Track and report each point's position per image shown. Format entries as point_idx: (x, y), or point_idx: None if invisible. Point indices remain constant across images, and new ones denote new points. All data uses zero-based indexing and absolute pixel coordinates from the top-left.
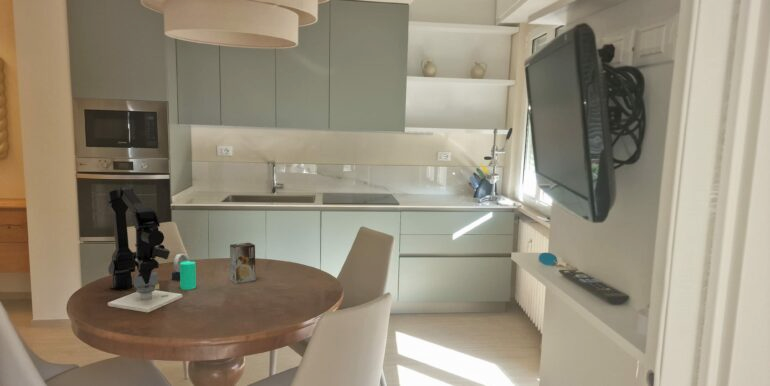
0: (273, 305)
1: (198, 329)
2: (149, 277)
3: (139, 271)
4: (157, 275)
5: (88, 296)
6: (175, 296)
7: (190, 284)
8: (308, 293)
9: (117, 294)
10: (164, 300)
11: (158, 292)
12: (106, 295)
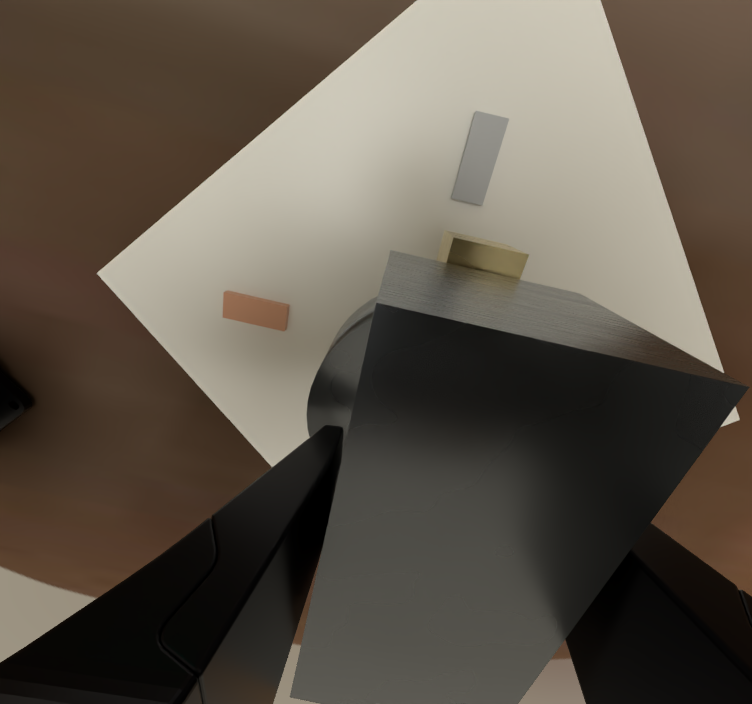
0: None
1: None
2: (674, 551)
3: (273, 686)
4: (718, 376)
5: (113, 566)
6: (585, 32)
7: None
8: None
9: (127, 448)
10: (627, 216)
11: (291, 184)
12: (126, 500)
